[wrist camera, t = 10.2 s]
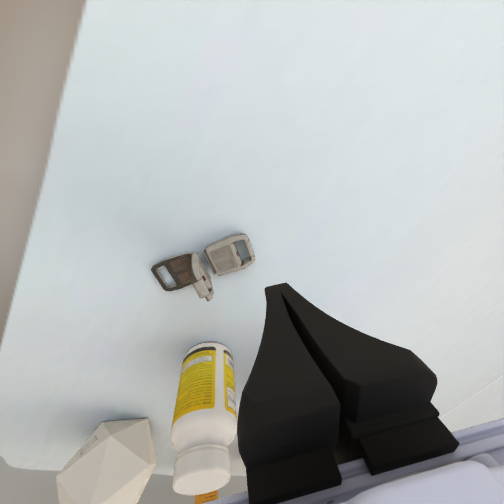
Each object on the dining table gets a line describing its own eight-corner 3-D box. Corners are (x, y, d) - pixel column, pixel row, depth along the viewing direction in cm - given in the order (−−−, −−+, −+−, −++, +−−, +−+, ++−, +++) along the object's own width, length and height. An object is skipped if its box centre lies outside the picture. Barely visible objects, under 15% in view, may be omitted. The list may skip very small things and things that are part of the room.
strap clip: (245, 228, 17) (253, 249, 13) (256, 258, 18) (265, 285, 14) (150, 263, 17) (130, 294, 13) (167, 290, 18) (154, 325, 14)
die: (112, 391, 24) (2, 516, 17) (173, 438, 22) (78, 599, 15) (129, 402, 30) (53, 499, 23) (178, 440, 28) (111, 557, 21)
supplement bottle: (175, 366, 22) (146, 499, 14) (198, 334, 21) (183, 461, 12) (217, 377, 24) (216, 501, 16) (241, 349, 23) (255, 468, 14)
